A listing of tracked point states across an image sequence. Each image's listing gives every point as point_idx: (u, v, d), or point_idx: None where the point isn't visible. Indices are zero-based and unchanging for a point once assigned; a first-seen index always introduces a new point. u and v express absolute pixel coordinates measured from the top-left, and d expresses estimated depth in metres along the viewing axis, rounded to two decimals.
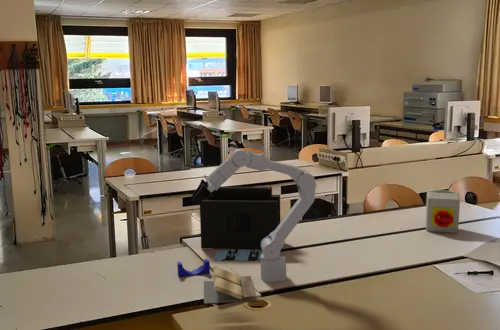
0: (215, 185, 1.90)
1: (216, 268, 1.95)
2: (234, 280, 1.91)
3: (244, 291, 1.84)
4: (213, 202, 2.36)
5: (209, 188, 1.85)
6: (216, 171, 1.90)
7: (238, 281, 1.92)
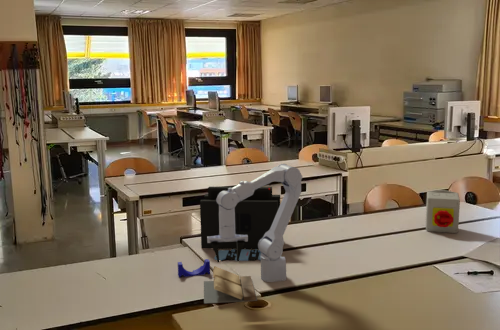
0: None
1: (216, 268, 1.95)
2: (234, 280, 1.91)
3: (244, 291, 1.84)
4: (213, 202, 2.36)
5: (247, 239, 1.92)
6: (232, 227, 1.89)
7: (238, 281, 1.92)
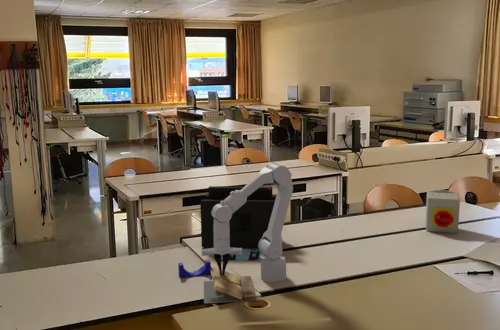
0: None
1: (215, 269, 1.95)
2: (234, 280, 1.91)
3: (244, 291, 1.84)
4: (214, 202, 2.36)
5: None
6: (226, 240, 1.89)
7: (238, 281, 1.92)
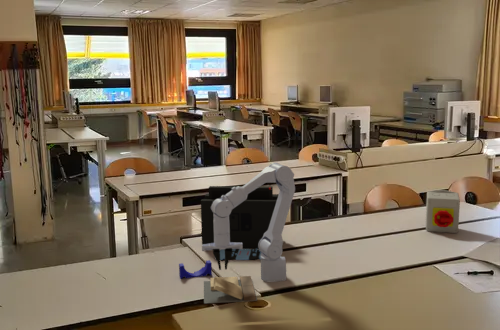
0: None
1: (212, 279, 1.96)
2: None
3: (244, 291, 1.84)
4: None
5: (242, 247, 1.92)
6: (226, 235, 1.89)
7: (236, 283, 1.92)
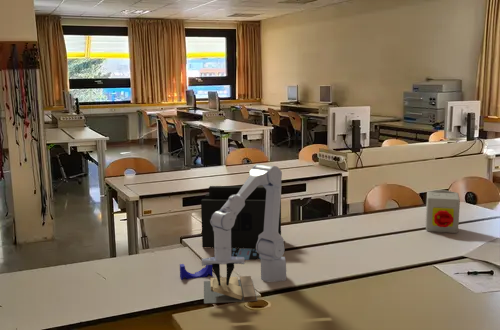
0: None
1: (212, 279, 1.96)
2: None
3: (244, 291, 1.84)
4: (214, 201, 2.37)
5: (244, 262, 1.82)
6: (227, 249, 1.79)
7: (236, 283, 1.92)
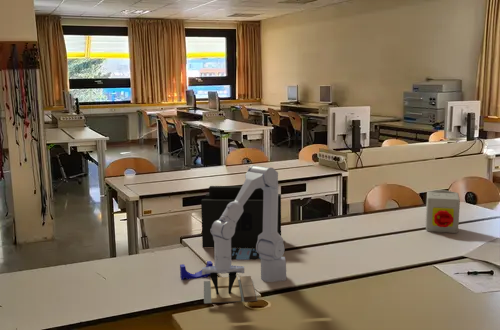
0: None
1: None
2: None
3: (244, 291, 1.84)
4: (214, 201, 2.37)
5: None
6: (227, 258, 1.79)
7: (236, 283, 1.92)
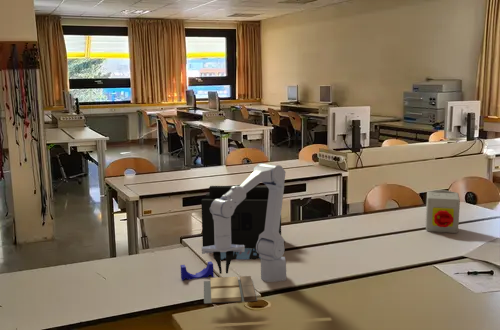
0: None
1: (212, 279, 1.96)
2: (232, 284, 1.91)
3: (244, 291, 1.84)
4: None
5: (244, 249, 1.81)
6: (227, 237, 1.78)
7: (236, 283, 1.92)
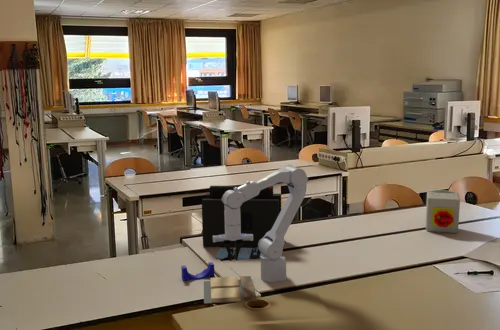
0: None
1: (212, 279, 1.96)
2: (232, 284, 1.91)
3: (244, 291, 1.84)
4: (215, 201, 2.38)
5: None
6: (237, 226, 1.90)
7: (236, 283, 1.92)
